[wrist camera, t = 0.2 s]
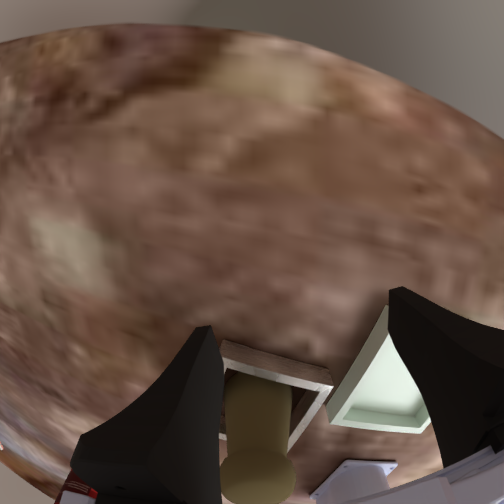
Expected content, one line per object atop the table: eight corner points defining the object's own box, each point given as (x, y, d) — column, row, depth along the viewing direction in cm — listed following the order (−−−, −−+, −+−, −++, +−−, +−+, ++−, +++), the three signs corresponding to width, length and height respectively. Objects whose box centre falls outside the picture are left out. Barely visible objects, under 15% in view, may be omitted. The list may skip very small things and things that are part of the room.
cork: (269, 424, 27) (270, 521, 16) (212, 401, 26) (193, 502, 16) (306, 384, 25) (324, 489, 15) (244, 357, 25) (236, 467, 14)
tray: (413, 418, 27) (420, 433, 25) (325, 406, 26) (329, 423, 24) (471, 333, 24) (484, 345, 22) (385, 304, 23) (396, 318, 21)
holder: (285, 435, 27) (287, 453, 25) (195, 412, 27) (190, 430, 24) (328, 368, 25) (333, 386, 22) (223, 338, 24) (219, 356, 22)
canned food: (117, 493, 33) (98, 547, 23) (71, 467, 32) (45, 519, 22) (133, 480, 31) (112, 542, 21) (81, 451, 30) (51, 511, 20)
